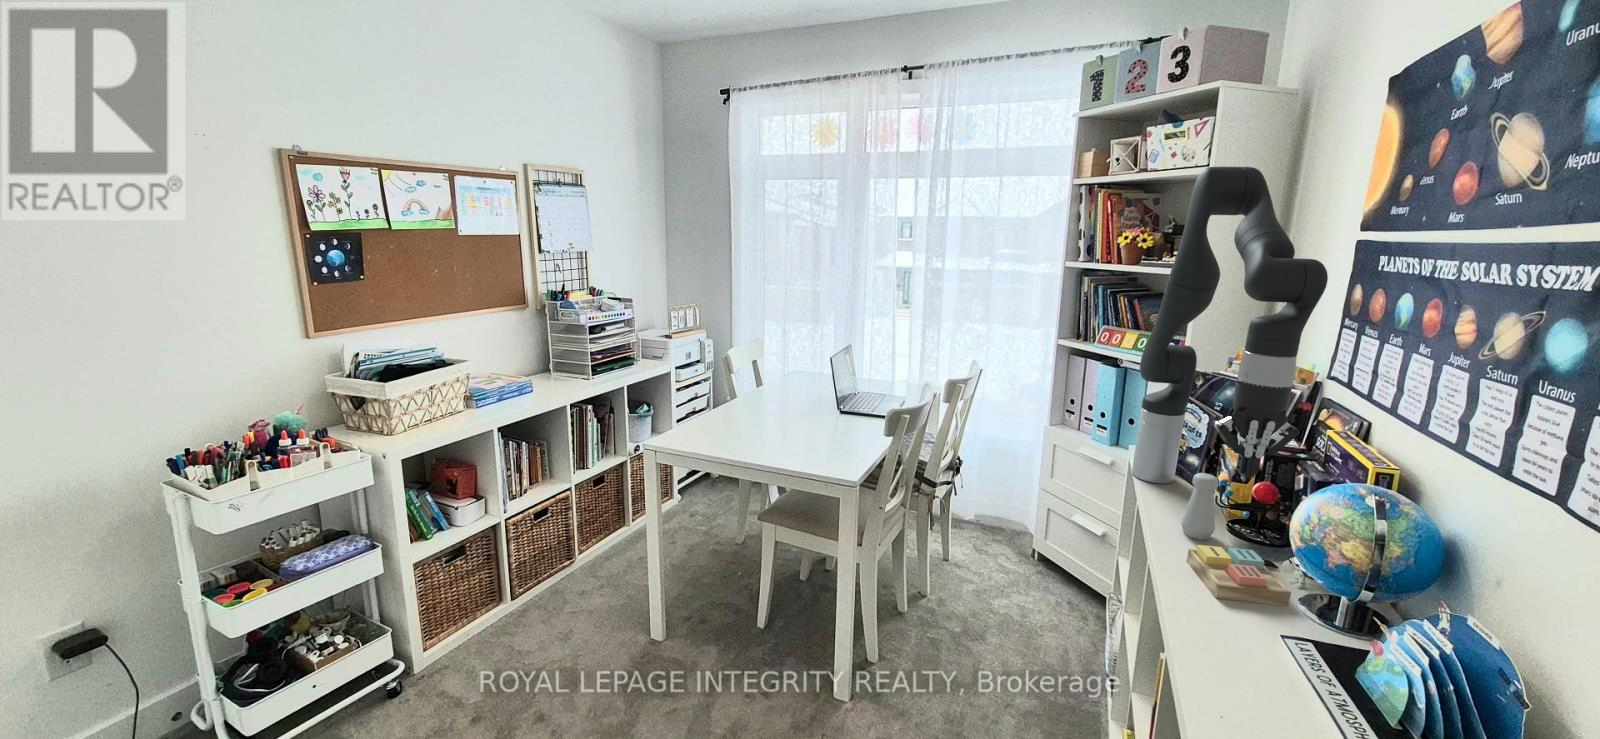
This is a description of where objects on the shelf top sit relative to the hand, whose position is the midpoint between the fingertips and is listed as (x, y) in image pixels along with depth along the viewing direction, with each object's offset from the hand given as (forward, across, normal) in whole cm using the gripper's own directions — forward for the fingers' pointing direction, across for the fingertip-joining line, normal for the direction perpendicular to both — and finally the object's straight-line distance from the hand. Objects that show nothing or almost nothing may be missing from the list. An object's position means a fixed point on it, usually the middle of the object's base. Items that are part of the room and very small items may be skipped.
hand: (1245, 475), depth 108 cm
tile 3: (+17, 0, +6) cm, 18 cm away
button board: (+19, 0, +3) cm, 19 cm away
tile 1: (+17, +3, 0) cm, 18 cm away
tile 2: (+17, -3, 0) cm, 18 cm away
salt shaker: (+19, 0, -14) cm, 24 cm away
